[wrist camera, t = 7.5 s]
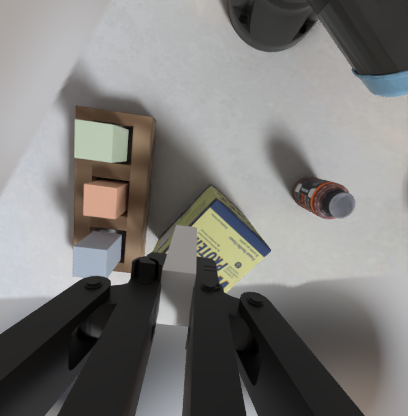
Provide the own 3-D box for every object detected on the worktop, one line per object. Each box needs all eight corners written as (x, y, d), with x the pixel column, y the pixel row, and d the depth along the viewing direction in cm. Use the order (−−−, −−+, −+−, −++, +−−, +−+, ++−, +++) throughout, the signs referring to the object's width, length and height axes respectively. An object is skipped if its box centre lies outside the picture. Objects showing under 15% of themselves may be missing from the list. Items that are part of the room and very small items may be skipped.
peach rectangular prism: (102, 178, 42) (84, 183, 36) (130, 182, 43) (117, 188, 36) (101, 205, 44) (83, 215, 37) (128, 209, 44) (115, 219, 37)
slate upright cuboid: (93, 231, 42) (73, 246, 35) (121, 234, 42) (107, 250, 35) (92, 256, 43) (72, 276, 36) (120, 260, 43) (105, 280, 36)
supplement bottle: (285, 191, 45) (314, 203, 34) (310, 170, 44) (348, 176, 33) (303, 213, 46) (336, 232, 35) (328, 193, 45) (370, 206, 34)
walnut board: (87, 110, 41) (75, 105, 37) (156, 120, 42) (151, 117, 38) (83, 257, 47) (73, 266, 43) (143, 264, 48) (138, 273, 44)
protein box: (249, 218, 46) (273, 250, 31) (195, 271, 49) (194, 325, 33) (210, 182, 44) (217, 197, 29) (157, 239, 47) (137, 280, 32)
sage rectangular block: (97, 125, 38) (74, 119, 31) (128, 129, 38) (113, 124, 31) (96, 156, 39) (74, 157, 32) (126, 161, 39) (111, 162, 32)
